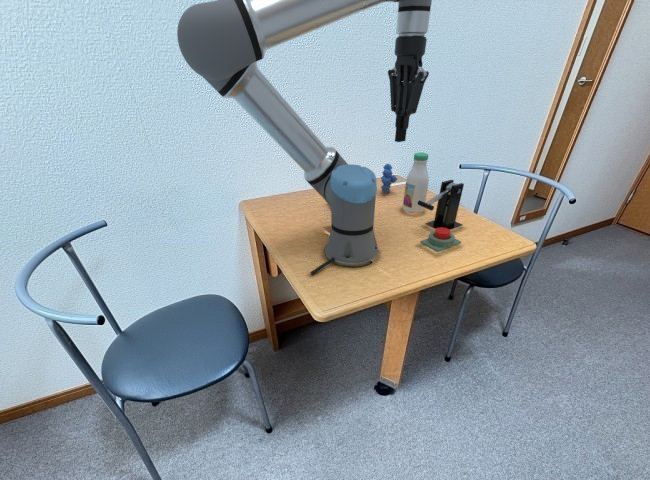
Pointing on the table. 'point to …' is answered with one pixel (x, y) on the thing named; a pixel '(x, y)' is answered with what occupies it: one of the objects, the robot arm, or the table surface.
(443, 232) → the button
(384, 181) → the grapes
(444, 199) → the bracket
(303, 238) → the table surface
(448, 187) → the lever
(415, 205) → the milk bottle
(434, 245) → the button box
